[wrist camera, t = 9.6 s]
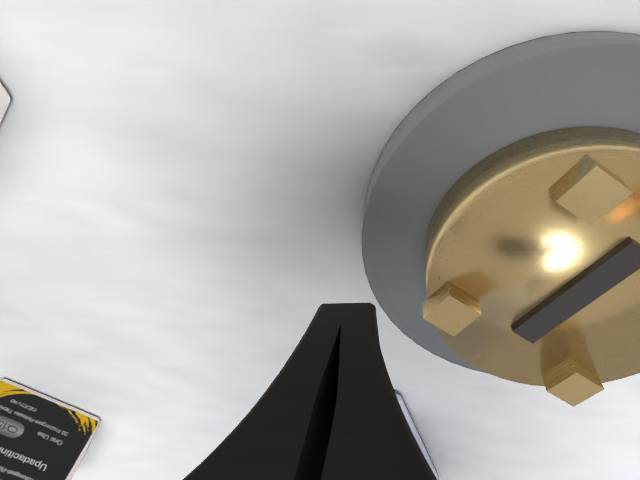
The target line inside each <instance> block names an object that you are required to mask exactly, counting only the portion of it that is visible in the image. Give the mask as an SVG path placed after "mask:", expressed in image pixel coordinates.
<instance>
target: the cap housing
mask: <svg viewBox="0 0 640 480" xmlns="http://www.w3.org/2000/svg"><path fill="white" fill-rule="evenodd" d="M575 127H609V128H616V129H623V130H628V131H632V132H635V133H639V134H640V35H637V34H629V33H619V32H609V31H593V32H571V33H565V34H559V35H553V36H547V37H541V38H537V39H534V40H531V41H527V42H524V43H520V44H517V45H513V46H510V47H508V48H505V49H503V50H501V51H498V52H496V53H494V54H491V55H489V56H487V57H484V58H482V59H480V60H478V61H477V62H475V63H473V64H471V65H470V66H468V67H466V68H464V69H462V70H461V71H459V72H457V73H455V74H454V75H453V76H451V77H450V78H449V79H447V80H446V81H445V82H443V83H442V84H440V85H439V86H438V87H436V88H435V89H434V90H432V91H431V92H430V93H429V94H428V95H427V96H426V97H425V98H424V99H423V100H422V101H421V102H420V103H418V104H417V105H416V106H415V107H414V108H413V109H412V110H411V111H410V113H409V114H408V115H407V116H406V117H405V119H404V120H403V121H402V122H401V123H400V125H399V126H398V127H397V128H396V130H395V131H394V133H393V134H392V136H391V137H390V139H389V141H388V142H387V144H386V145H385V147H384V148H383V150H382V153H381V155H380V157H379V159H378V161H377V163H376V166H375V168H374V170H373V174H372V177H371V180H370V184H369V187H368V191H367V198H366V205H365V213H364V222H363V231H362V255H363V261H364V266H365V272H366V275H367V278H368V281H369V284H370V287H371V290H372V291H373V293H374V295H375V297H376V299H377V301H378V303H379V305H380V306H381V308H382V309H383V310H384V312H385V313H386V314H387V316H388V317H389V318H390V320H391V321H392V322H393V323H394V324H395V325H396V326H397V327H398V328H399V329H400V330H401V331H402V332H403V333H404V334H405V335H407V336H408V337H409V338H410V339H412V340H413V341H414V342H415V343H417V344H418V345H420V346H421V347H423V348H425V349H426V350H428V351H430V352H431V353H433V354H435V355H437V356H439V357H441V358H443V359H445V360H447V361H450V362H452V363H455V364H458V365H460V366H463V367H466V368H469V369H473V370H477V371H481V372H485V371H483V370H481V369H479V368H477V367H475V366H473V365H471V364H470V363H468V362H467V361H465V360H464V359H462V358H461V357H460V356H459V355H458V354H456V353H455V352H454V351H453V350H452V349H451V348H450V347H449V346H448V345H447V344H446V342H445V341H444V340H443V339H442V337H441V336H440V334H439V333H438V331H437V329H436V328H435V325H433V324H432V323H430V322H428V321H426V320H425V319H423V306H422V303H423V302H425V301H426V300H427V289H426V276H425V262H424V246H425V237H426V234H427V230H428V227H429V223H430V221H431V219H432V217H433V214H434V212H435V210H436V208H437V207H438V205H439V204H440V202H441V200H442V199H443V197H444V196H445V195H446V193H447V192H448V191H449V190H450V189H451V187H452V186H453V185H454V184H455V183H456V182H457V181H458V180H459V179H460V178H461V177H462V176H463V175H464V174H465V173H466V172H467V171H468V170H470V169H471V168H472V167H474V166H475V165H476V164H478V163H479V162H480V161H482V160H483V159H484V158H486V157H488V156H490V155H491V154H493V153H495V152H496V151H498V150H500V149H502V148H504V147H506V146H508V145H510V144H513V143H515V142H517V141H519V140H522V139H525V138H528V137H531V136H534V135H537V134H540V133H545V132H549V131H554V130H559V129H565V128H575ZM485 373H487V372H485Z"/></svg>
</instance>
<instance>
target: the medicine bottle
mask: <svg viewBox="0 0 640 480" xmlns="http://www.w3.org/2000/svg"><path fill="white" fill-rule="evenodd" d="M99 422H100V420H99V418H98V417H96V416H94V415H91V414H89V413H87V412H84V411H82V410H79V409H77V408H75V407H72V406H70V405H67V404H65V403H63V402H60V401H58V400H55V399H53V398H51V397H48V396H46V395H44V394H41V393H39V392H36V391H34V390H32V389H29V388H27V387H24V386H22V385H20V384H17V383H15V382H13V381H10V380H8V379H1V380H0V480H71V479H72V477H73V475H74V473H75V472H76V470H77V468H78V466H79V465H80V463H81V461H82V459H83V457H84V455H85V452H86V450H87V448H88V446H89V444H90V442H91V440H92V438H93V436H94V434H95V431H96V429H97V427H98V425H99Z"/></svg>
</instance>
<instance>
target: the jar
mask: <svg viewBox="0 0 640 480" xmlns="http://www.w3.org/2000/svg"><path fill="white" fill-rule="evenodd" d="M9 103H10V96H9V94H8V93H7V91H6V90H5V88H4V87H3V85H2V84H1V82H0V123H1V121H2V119H3V117H4V114H5V112H6V110H7V108H8V105H9Z"/></svg>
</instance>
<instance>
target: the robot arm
mask: <svg viewBox="0 0 640 480" xmlns="http://www.w3.org/2000/svg"><path fill="white" fill-rule="evenodd" d="M183 480H439V477H438V475H437V473H436V470H435V468H434V466H433V464H432V462H431V460H430V458H429V455H428V453H427V451H426V449H425V447H424V445H423V443H422V440H421V438H420V436H419V434H418V432H417V430H416V428H415V425H414V423H413V421H412V419H411V417H410V415H409V412H408V410H407V408H406V406H405V404H404V402H403V400H402V397H401V396H400V395H398V394H396V393H395V391H394V389H393V386H392V384H391V381H390V378H389V375H388V372H387V369H386V366H385V362H384V359H383V356H382V353H381V349H380V345H379V336H378V327H377V318H376V308H375V306H374V305H373V304H371V303H338V304H322V305H321V306H320V307H319V308H318V310H317V312H316V314H315V316H314V318H313V320H312V322H311V323H310V325H309V327H308V329H307V330H306V332H305V334H304V335H303V337H302V339H301V340H300V342H299V344H298V345H297V347H296V348H295V350H294V352H293V353H292V355H291V356H290V358H289V359H288V361H287V362H286V364H285V365H284V367H283V368H282V370H281V371H280V373H279V374H278V375H277V377H276V378H275V379H274V381H273V382H272V383H271V385H270V386H269V388H268V389H267V390H266V392H265V393H264V394H263V396H262V397H261V398H260V399H259V401H258V402H257V403H256V404H255V406H254V407H253V408H252V409H251V411H250V412H249V413H248V414H247V415H246V416H245V418H244V419H243V420H242V421H241V422H240V423H239V425H238V426H237V427H236V428H235V429H234V430H233V431H232V432H231V433H230V434H229V435H228V436H227V437H226V438H225V440H224V441H223V442H222V443H221V444H220V445H219V446H218V447H217V448H216V449H215V450H214V451H213V452H212V453H211V454H210V455H209V456H208V457H207V458H206V459H205V460H204V461H203V462H202V463H201V464H200V465H199V466H197V467H196V468H195V469H194V470H193V471H192V472H191V473H190V474H189V475H187V476H186V477H185V478H184V479H183Z"/></svg>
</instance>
